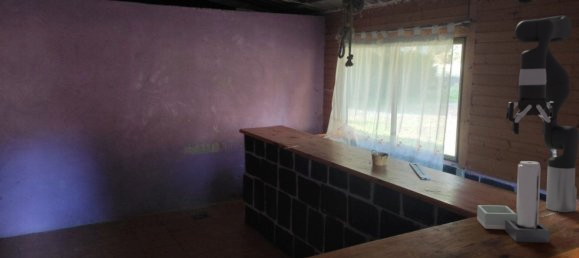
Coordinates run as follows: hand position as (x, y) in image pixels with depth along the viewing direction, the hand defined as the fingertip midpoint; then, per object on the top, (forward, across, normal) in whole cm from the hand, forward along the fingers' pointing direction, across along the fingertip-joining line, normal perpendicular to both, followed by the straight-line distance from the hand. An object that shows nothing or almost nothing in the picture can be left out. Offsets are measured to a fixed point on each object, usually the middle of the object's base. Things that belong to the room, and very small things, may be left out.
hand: (530, 134), depth 140 cm
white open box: (+34, +6, -12) cm, 37 cm away
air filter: (+34, 0, 0) cm, 34 cm away
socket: (+34, 0, 0) cm, 34 cm away
